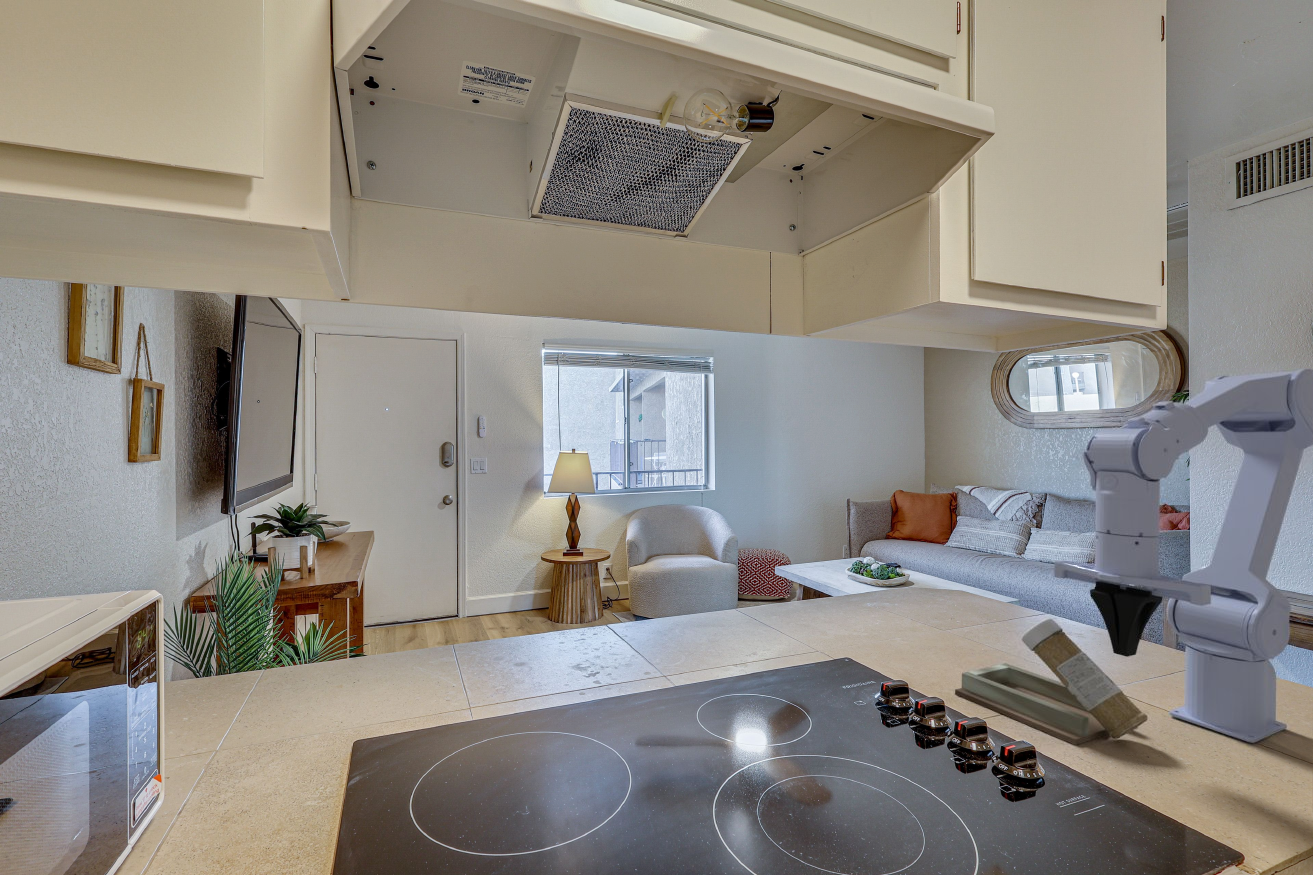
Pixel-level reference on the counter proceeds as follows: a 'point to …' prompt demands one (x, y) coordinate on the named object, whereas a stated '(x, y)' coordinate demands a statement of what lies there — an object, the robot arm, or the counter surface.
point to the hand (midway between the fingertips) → (1124, 653)
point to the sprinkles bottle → (1084, 678)
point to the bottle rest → (1031, 701)
